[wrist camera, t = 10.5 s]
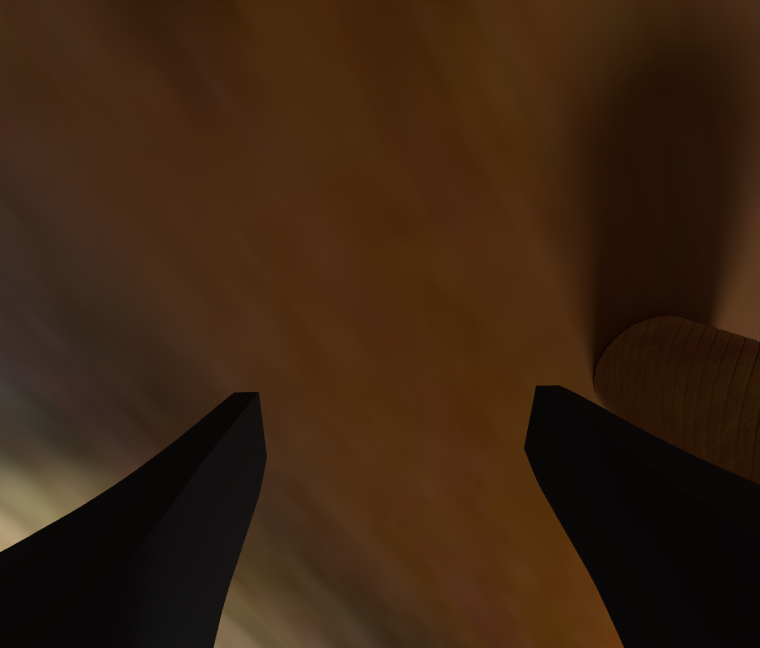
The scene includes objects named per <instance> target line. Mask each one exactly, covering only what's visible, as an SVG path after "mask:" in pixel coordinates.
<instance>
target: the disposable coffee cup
mask: <svg viewBox="0 0 760 648" xmlns="http://www.w3.org/2000/svg"><path fill="white" fill-rule="evenodd" d="M594 386H595V392H596V395H597V397H598V399H599V400H600V402H601V403H602V405H603V406H604V407H605V408H606V410H608V411H609V412H611V413H613V414H615V415H617V416H619V417H620V418H622V419H624V420H626V421H628V422H630V423H631V424H633V425H635V426H637V427H639V428H641V429H643V430H644V431H646V432H648V433H650V434H652V435H654V436H656V437H658V438H660V439H662V440H664V441H666V442H668V443H670V444H672V445H674V446H676V447H678V448H680V449H682V450H684V451H686V452H688V453H690V454H692V455H694V456H696V457H698V458H700V459H703V460H705V461H707V462H709V463H711V464H713V465H716V466H718V467H720V468H723V469H725V470H727V471H730V472H732V473H734V474H737V475H739V476H741V477H744V478H746V479H748V480H751V481H753V482H755V483H758V484H760V342H758V341H757V340H753V339H750V338H746V337H745V338H744V337H743V336H740V335H737V334H733V333H730V332H727V331H724V330H720V329H717V328H714V327H711V326H706V325H705V324H701V323H698V322H694V321H692V320H689V319H686V318H682V317H678V316H671V315H670V316H659V317H654V318H650V319H647V320H644V321H641V322H639V323H637V324H634V325H633V326H631V327H630V328H628V329H626V330H625V331H623V332H622V333H621V334H620V335H619V336H617V337H616V338H615V339H614V340H613V341H612V342H611V343H610V345H609V346H608V347H607V348H606V349H605V351H604V353H603V354H602V356H601V357H600V359H599V362H598V364H597V367H596V371H595V377H594Z"/></svg>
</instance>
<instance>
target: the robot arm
mask: <svg viewBox="0 0 760 648" xmlns="http://www.w3.org/2000/svg"><path fill="white" fill-rule="evenodd" d="M524 449H525V452H526V455H527V457H528V460H529V462H530V465H531V468H532V470H533V472H534V475H535V477H536V479H537V482H538V484H539V486H540V488H541V489H542V491H543V493H544V495H545V497H546V498H547V500H548V502H549V504H550V505H551V507H552V509H553V511H554V513H555V514H556V516H557V518H558V520H559V521H560V523H561V525H562V526H563V528H564V530H565V532H566V533H567V535H568V537H569V539H570V540H571V542H572V544H573V546H574V547H575V549H576V551H577V553H578V554H579V556H580V558H581V560H582V561H583V563H584V565H585V566H586V568H587V570H588V572H589V574H590V576H591V578H592V580H593V582H594V583H595V585H596V587H597V589H598V591H599V593H600V596H601V598H602V600H603V602H604V604H605V607H606V609H607V611H608V613H609V615H610V617H611V620H612V622H613V624H614V626H615V628H616V630H617V633H618V635H619V637H620V639H621V642H622V644H623V646H624V648H760V484H758V483H755V482H753V481H751V480H748V479H746V478H744V477H741V476H739V475H737V474H734V473H732V472H730V471H727V470H725V469H723V468H720V467H718V466H716V465H713V464H711V463H709V462H707V461H705V460H703V459H700V458H698V457H696V456H694V455H692V454H690V453H688V452H686V451H684V450H682V449H680V448H678V447H676V446H674V445H672V444H670V443H668V442H666V441H664V440H662V439H660V438H658V437H656V436H654V435H652V434H650V433H648V432H646V431H644V430H643V429H641V428H639V427H637V426H635V425H633V424H631V423H630V422H628V421H626V420H624V419H622V418H620V417H619V416H617V415H615V414H613V413H611V412H609V411H608V410H606V409H604V408H602V407H600V406H599V405H597V404H595V403H593V402H591V401H589V400H588V399H586V398H584V397H582V396H580V395H578V394H576V393H574V392H572V391H570V390H568V389H566V388H564V387H561V386H559V385H553V386H536V390H535V395H534V400H533V405H532V410H531V415H530V420H529V425H528V430H527V435H526V441H525V446H524ZM266 458H267V454H266V446H265V438H264V430H263V422H262V414H261V406H260V398H259V392H240V393H233V394H232V395H230V396H229V397H228V398H227V399H225V400H224V401H223V402H222V403H221V404H219V405H218V406H217V407H216V408H215V409H213V410H212V411H211V412H210V413H209V414H207V415H206V416H205V417H204V418H203V419H202V420H200V421H199V422H198V423H197V424H195V425H194V426H193V427H192V428H191V429H189V430H188V431H187V432H186V433H184V434H183V435H182V436H181V437H180V438H178V439H177V440H176V441H175V442H173V443H172V444H171V445H169V446H168V447H167V448H165V449H164V450H163V451H161V452H160V453H159V454H157V455H156V456H154V457H153V458H152V459H150V460H149V461H148V462H146V463H145V464H144V465H142V466H141V467H140V468H138V469H137V470H136V471H134V472H133V473H131V474H130V475H129V476H127V477H126V478H124V479H123V480H121V481H120V482H118V483H117V484H115V485H114V486H112V487H111V488H109V489H108V490H106V491H105V492H103V493H101V494H100V495H98V496H97V497H95V498H94V499H92V500H90V501H89V502H87V503H86V504H84V505H83V506H81V507H79V508H78V509H76V510H74V511H73V512H71V513H69V514H67V515H66V516H64V517H62V518H60V519H59V520H57V521H55V522H53V523H52V524H50V525H48V526H46V527H44V528H43V529H41V530H39V531H37V532H36V533H34V534H32V535H30V536H29V537H27V538H25V539H23V540H21V541H20V542H18V543H16V544H14V545H13V546H11V547H9V548H7V549H5V550H3V551H1V552H0V648H213V647H214V643H215V639H216V635H217V630H218V626H219V622H220V618H221V613H222V609H223V606H224V602H225V599H226V596H227V592H228V589H229V585H230V582H231V579H232V576H233V573H234V570H235V567H236V564H237V561H238V558H239V555H240V552H241V549H242V546H243V543H244V540H245V537H246V534H247V531H248V528H249V525H250V522H251V519H252V516H253V513H254V510H255V507H256V504H257V500H258V497H259V494H260V489H261V484H262V480H263V474H264V469H265V464H266Z"/></svg>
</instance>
